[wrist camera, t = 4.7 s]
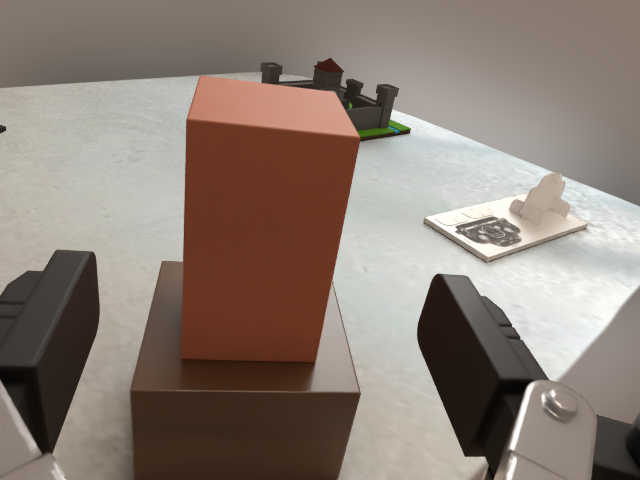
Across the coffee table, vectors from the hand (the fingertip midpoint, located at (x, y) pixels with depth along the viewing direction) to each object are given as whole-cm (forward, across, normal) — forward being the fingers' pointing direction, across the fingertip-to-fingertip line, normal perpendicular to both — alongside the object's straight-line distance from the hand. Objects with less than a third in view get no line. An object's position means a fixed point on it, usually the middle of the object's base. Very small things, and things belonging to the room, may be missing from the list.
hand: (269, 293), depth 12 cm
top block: (+7, 0, +6) cm, 9 cm away
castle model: (+52, -10, +12) cm, 55 cm away
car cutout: (+27, -23, +12) cm, 37 cm away
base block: (+7, 0, +11) cm, 13 cm away
